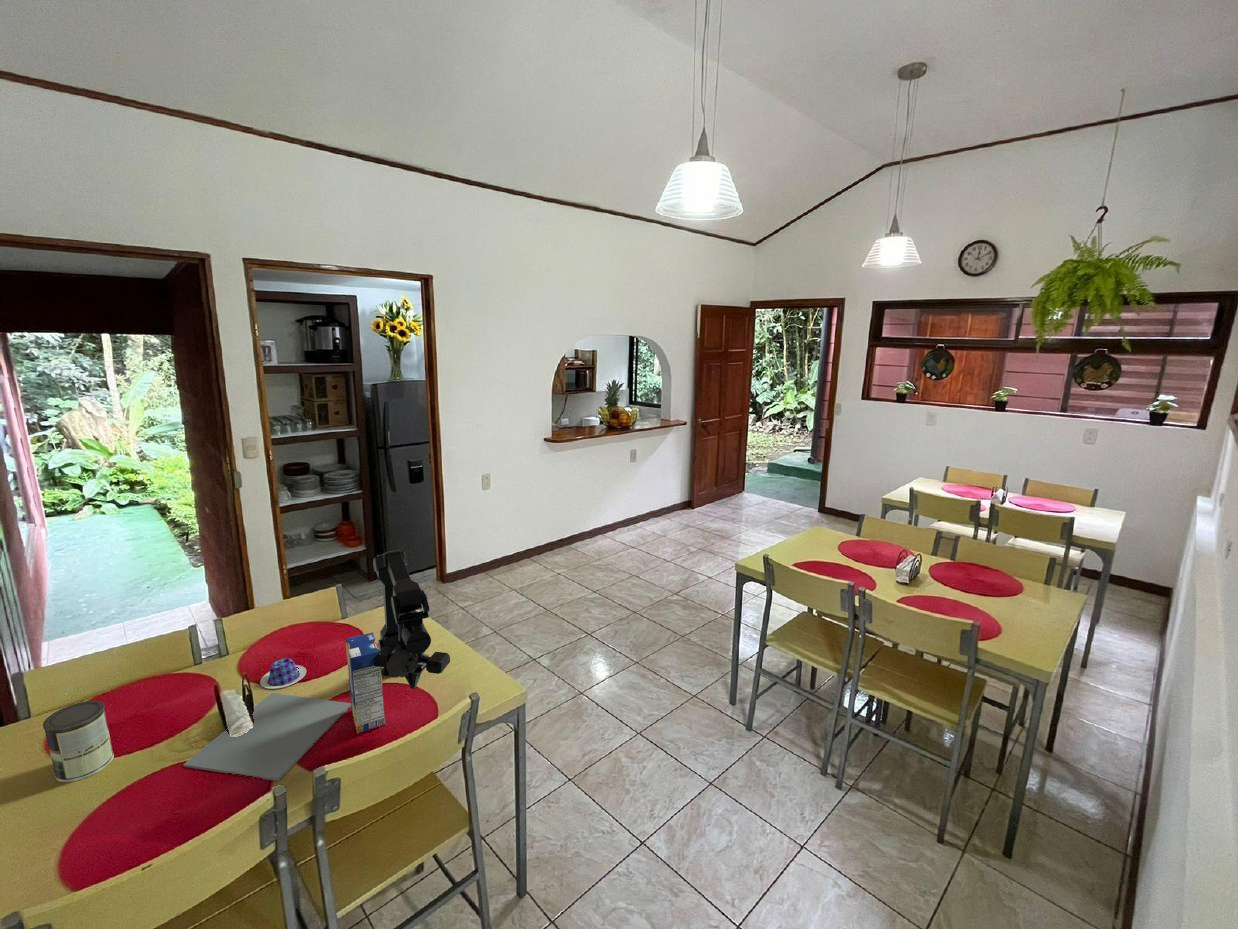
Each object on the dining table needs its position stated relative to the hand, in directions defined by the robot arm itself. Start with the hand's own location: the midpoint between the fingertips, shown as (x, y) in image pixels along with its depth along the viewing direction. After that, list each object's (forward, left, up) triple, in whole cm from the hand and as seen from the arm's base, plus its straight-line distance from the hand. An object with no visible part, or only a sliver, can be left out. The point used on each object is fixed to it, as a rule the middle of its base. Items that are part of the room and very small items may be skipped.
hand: (413, 688), depth 148 cm
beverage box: (0, -14, -11) cm, 18 cm away
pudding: (-12, -49, -11) cm, 52 cm away
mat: (+10, -34, -11) cm, 37 cm away
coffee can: (+28, -69, -11) cm, 75 cm away
